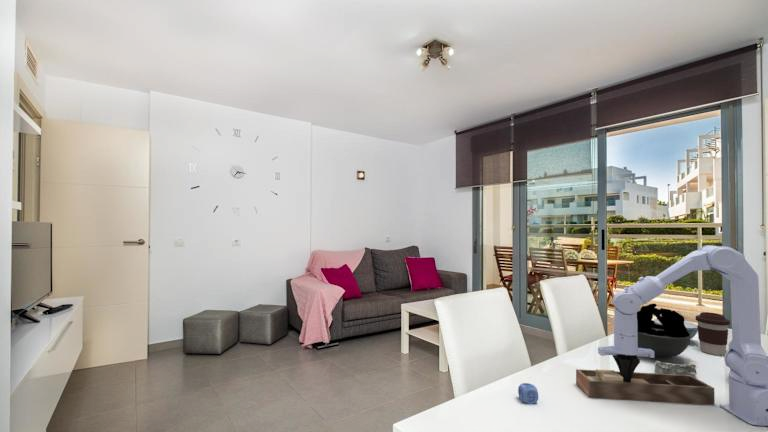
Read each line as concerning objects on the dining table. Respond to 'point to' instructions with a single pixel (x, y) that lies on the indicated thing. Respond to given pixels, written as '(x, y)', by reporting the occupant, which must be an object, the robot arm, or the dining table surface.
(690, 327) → the chinaware
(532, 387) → the decorative dice
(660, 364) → the egg carton
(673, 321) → the bowl of black rocks
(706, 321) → the coffee cup
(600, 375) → the beech block
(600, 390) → the brown wooden long box
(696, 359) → the dining table surface
